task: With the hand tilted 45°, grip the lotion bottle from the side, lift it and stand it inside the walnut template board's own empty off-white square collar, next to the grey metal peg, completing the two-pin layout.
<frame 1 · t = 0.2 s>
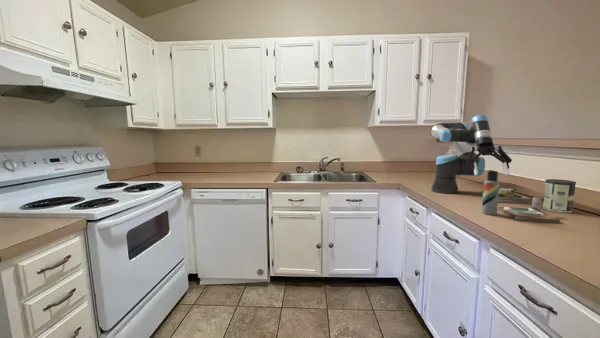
hand: (491, 174, 134), 15 cm above the countertop, tool tilted 35°, fingers open, 13 cm apart
square wooden tray: (504, 199, 145), on the countertop
coffee can: (556, 210, 125), on the countertop
template board: (526, 216, 115), on the countertop
lotion bottle: (489, 213, 120), on the countertop
fruit: (503, 199, 146), on the countertop
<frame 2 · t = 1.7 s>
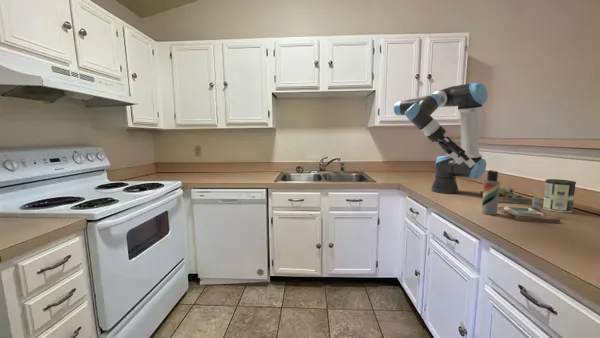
hand: (466, 164, 119), 23 cm above the countertop, tool tilted 45°, fingers open, 13 cm apart
nothing on the countertop moved.
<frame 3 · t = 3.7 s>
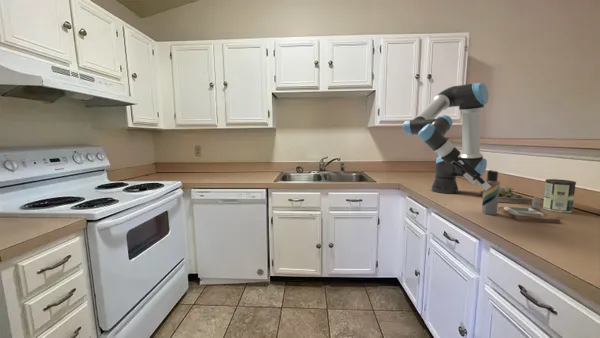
hand: (481, 185, 118), 13 cm above the countertop, tool tilted 45°, fingers open, 13 cm apart
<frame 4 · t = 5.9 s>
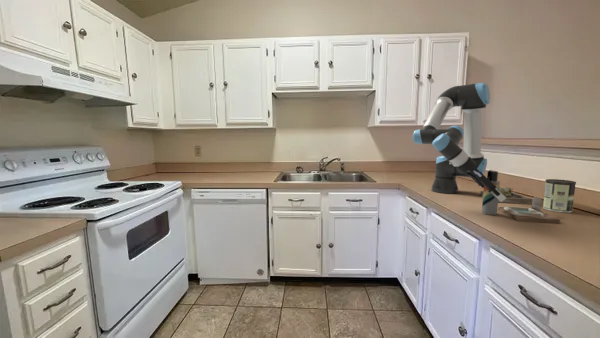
hand: (499, 198, 118), 7 cm above the countertop, tool tilted 45°, fingers closed on lotion bottle, 6 cm apart
lotion bottle: (489, 213, 120), on the countertop, touching gripper
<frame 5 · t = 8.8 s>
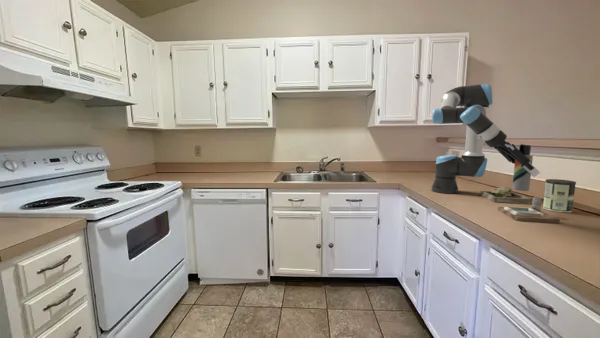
hand: (532, 173, 112), 19 cm above the countertop, tool tilted 45°, fingers closed on lotion bottle, 5 cm apart
lotion bottle: (520, 190, 114), point 12 cm above the countertop, touching gripper
when the fingers open (10 cm above the countertop, at t = 11.9 s): lotion bottle drops 1 cm, resting on template board.
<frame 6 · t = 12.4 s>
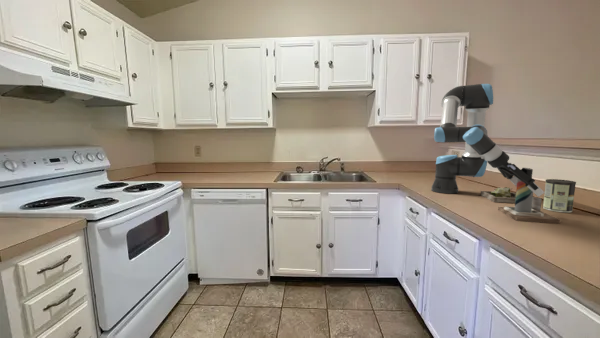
hand: (531, 191, 114), 11 cm above the countertop, tool tilted 45°, fingers open, 12 cm apart
lotion bottle: (522, 212, 116), point 1 cm above the countertop, touching template board
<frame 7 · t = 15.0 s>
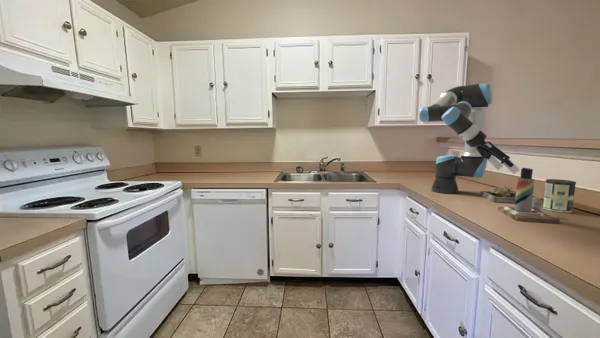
hand: (508, 169, 115), 21 cm above the countertop, tool tilted 45°, fingers open, 13 cm apart
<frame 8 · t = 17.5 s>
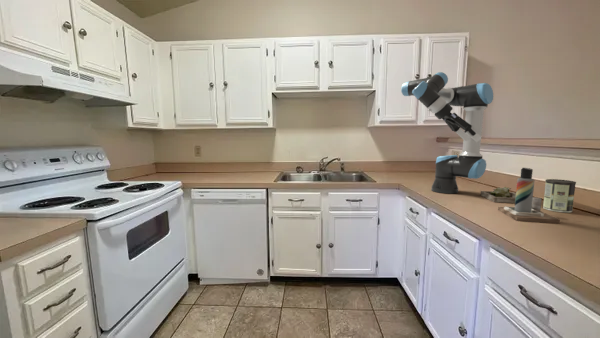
hand: (473, 139, 123), 34 cm above the countertop, tool tilted 45°, fingers open, 13 cm apart
at the end: lotion bottle 0.1 cm from the target spot on the template board, point 1.4 cm above the template board's base; lotion bottle tilted 0°; the gripper is holding nothing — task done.
